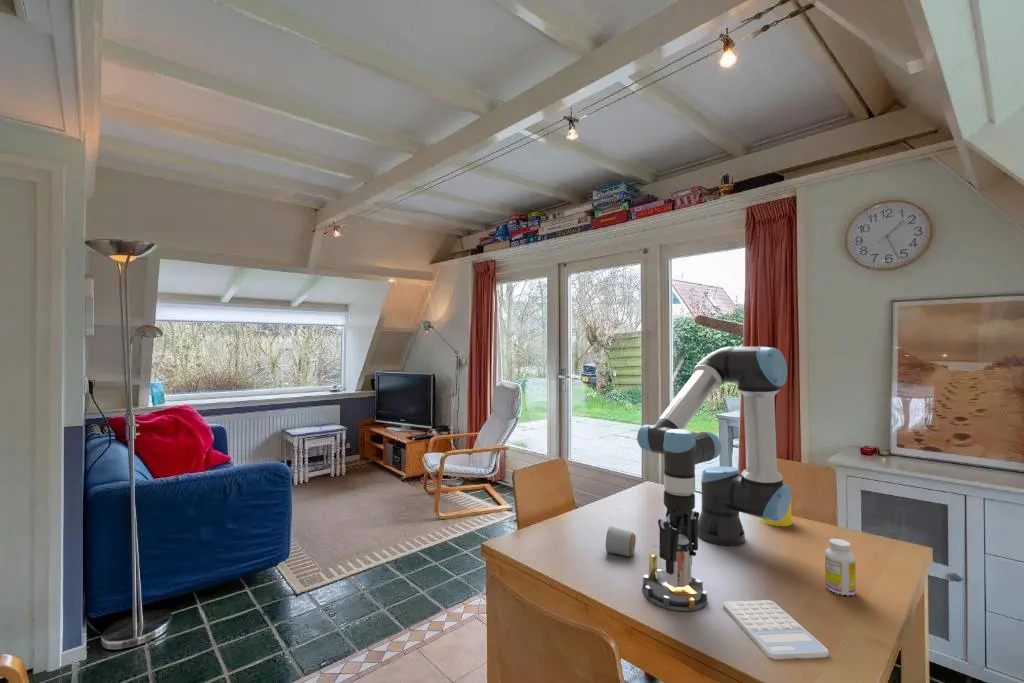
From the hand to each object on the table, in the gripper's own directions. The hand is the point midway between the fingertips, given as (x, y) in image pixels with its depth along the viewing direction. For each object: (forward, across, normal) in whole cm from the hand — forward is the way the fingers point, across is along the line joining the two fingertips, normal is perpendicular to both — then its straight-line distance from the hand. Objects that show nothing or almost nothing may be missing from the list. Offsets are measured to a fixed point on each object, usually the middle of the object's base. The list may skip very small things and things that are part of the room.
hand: (679, 582), depth 119 cm
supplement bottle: (+5, -40, +20) cm, 45 cm away
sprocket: (+5, -1, -3) cm, 5 cm away
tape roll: (+5, -74, -15) cm, 76 cm away
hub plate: (+5, -1, -3) cm, 5 cm away
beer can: (+1, 0, 0) cm, 1 cm away
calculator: (+5, -8, +19) cm, 21 cm away
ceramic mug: (+5, -8, -28) cm, 29 cm away
